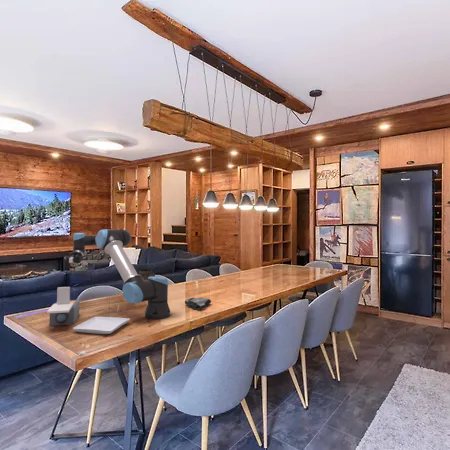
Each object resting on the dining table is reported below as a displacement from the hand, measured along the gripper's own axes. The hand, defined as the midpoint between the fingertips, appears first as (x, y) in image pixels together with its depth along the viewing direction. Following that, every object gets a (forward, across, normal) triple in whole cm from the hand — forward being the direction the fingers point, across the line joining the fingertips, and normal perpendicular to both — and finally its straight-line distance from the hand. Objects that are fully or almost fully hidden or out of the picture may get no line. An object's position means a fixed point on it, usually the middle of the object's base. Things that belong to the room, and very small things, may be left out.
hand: (70, 260), depth 196 cm
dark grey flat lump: (+1, -78, -32) cm, 85 cm away
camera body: (+15, 0, -32) cm, 36 cm away
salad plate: (+34, -21, -33) cm, 52 cm away
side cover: (+26, 0, -23) cm, 34 cm away
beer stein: (-37, -48, -32) cm, 68 cm away
